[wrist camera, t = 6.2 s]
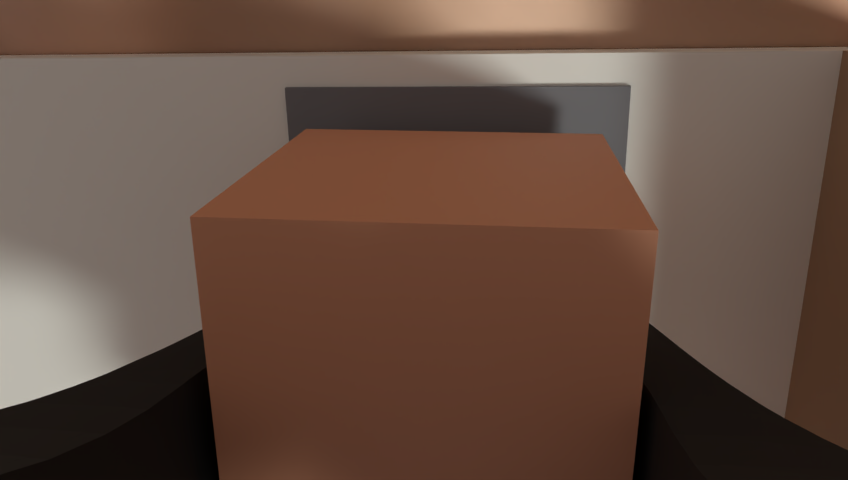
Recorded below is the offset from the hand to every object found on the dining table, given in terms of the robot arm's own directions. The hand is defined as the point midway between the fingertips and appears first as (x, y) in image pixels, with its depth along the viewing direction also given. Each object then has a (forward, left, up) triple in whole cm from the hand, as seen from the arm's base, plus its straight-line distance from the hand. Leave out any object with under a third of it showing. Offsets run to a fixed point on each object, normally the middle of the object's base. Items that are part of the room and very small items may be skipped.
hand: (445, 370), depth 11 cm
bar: (0, 0, -1) cm, 1 cm away
